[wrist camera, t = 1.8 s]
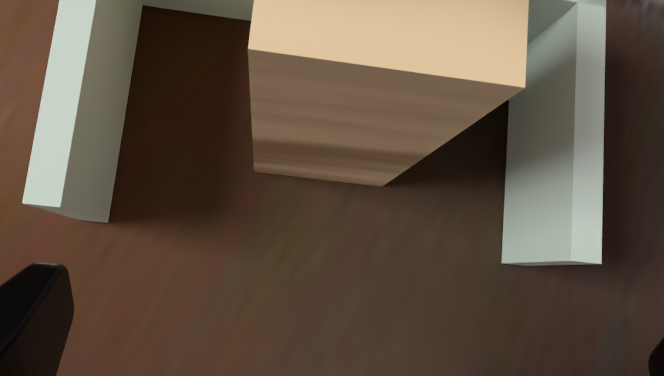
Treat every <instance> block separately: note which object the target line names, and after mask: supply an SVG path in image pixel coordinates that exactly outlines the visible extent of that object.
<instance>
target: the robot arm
mask: <svg viewBox="0 0 664 376" xmlns="http://www.w3.org/2000/svg"><path fill="white" fill-rule="evenodd" d="M73 315H74V302H73V296H72V290H71V284H70V278H69V273H68V270H67V268H66V267H65V266H64V265H61V264H52V263H41V262H36V263H33V264H30V265H29V266H27V267H26V268H24V269H23V270H21V271H20V272H19V273H17V274H16V275H15V276H13V277H12V278H10V279H9V280H8V281H6V282H5V283H3V284H2V285H1V286H0V376H56V373H57V370H58V367H59V363H60V360H61V357H62V354H63V350H64V347H65V344H66V340H67V337H68V334H69V331H70V327H71V324H72V320H73ZM648 368H649V373H650V376H664V337H663V339H662V340H661V341H660V342H659V344H658V345H657V346H656V348H655V349H654V350H653V351H652V353H651V354H650V357H649V362H648Z"/></svg>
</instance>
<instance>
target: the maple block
mask: <svg viewBox="0 0 664 376" xmlns="http://www.w3.org/2000/svg"><path fill="white" fill-rule="evenodd" d="M528 8H529V0H254V4H253V12H252V20H251V28H250V36H249V44H248V62H249V82H250V102H251V122H252V141H253V161H254V172H260V173H269V174H278V175H286V176H295V177H303V178H312V179H321V180H329V181H338V182H347V183H355V184H364V185H373V186H381V187H382V186H384V185H385V184H387V183H388V182H390V181H391V180H393V179H394V178H395V177H397V176H398V175H400V174H401V173H403V172H404V171H406V170H407V169H408V168H410V167H411V166H413V165H414V164H416V163H417V162H419V161H420V160H421V159H423V158H424V157H426V156H427V155H429V154H430V153H432V152H433V151H434V150H436V149H437V148H439V147H440V146H442V145H443V144H445V143H446V142H447V141H449V140H450V139H452V138H453V137H455V136H456V135H458V134H459V133H460V132H462V131H463V130H465V129H466V128H468V127H469V126H471V125H472V124H473V123H475V122H476V121H478V120H479V119H481V118H482V117H484V116H485V115H486V114H488V113H489V112H491V111H492V110H494V109H495V108H497V107H498V106H499V105H501V104H502V103H504V102H505V101H507V100H508V99H510V98H511V97H512V96H514V95H515V94H517V93H518V92H520V91H521V90H523V89H524V88H525V81H526V57H527V32H528Z"/></svg>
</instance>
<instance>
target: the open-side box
mask: <svg viewBox="0 0 664 376" xmlns="http://www.w3.org/2000/svg"><path fill="white" fill-rule="evenodd" d="M253 4H254V0H60V1H59V7H58V12H57V17H56V23H55V28H54V34H53V39H52V44H51V50H50V55H49V61H48V66H47V71H46V77H45V82H44V88H43V93H42V99H41V104H40V109H39V115H38V120H37V126H36V131H35V136H34V142H33V147H32V153H31V158H30V163H29V169H28V174H27V180H26V185H25V190H24V196H23V201H22V203H23V204H26V205H29V206H33V207H36V208H40V209H43V210H47V211H50V212H54V213H57V214H61V215H64V216H67V217H71V218H74V219H78V220H84V221H94V222H104V223H108V220H109V214H110V208H111V201H112V195H113V189H114V182H115V176H116V170H117V164H118V157H119V151H120V145H121V138H122V132H123V126H124V120H125V113H126V107H127V101H128V94H129V88H130V82H131V76H132V69H133V63H134V57H135V50H136V44H137V38H138V32H139V25H140V19H141V13H142V7H143V5H144V6H151V7H158V8H165V9H172V10H179V11H185V12H192V13H199V14H206V15H213V16H220V17H227V18H233V19H240V20H247V21H251V20H252V12H253ZM605 35H606V0H529V8H528V32H527V57H526V81H525V88H524V89H523V90H521V91H520V92H518V93H517V94H515V95H514V96H512V97H511V98H510V99H509V112H508V133H507V155H506V177H505V199H504V221H503V243H502V263H504V264H513V265H523V266H537V265H580V264H602V208H603V150H604V93H605Z"/></svg>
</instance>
